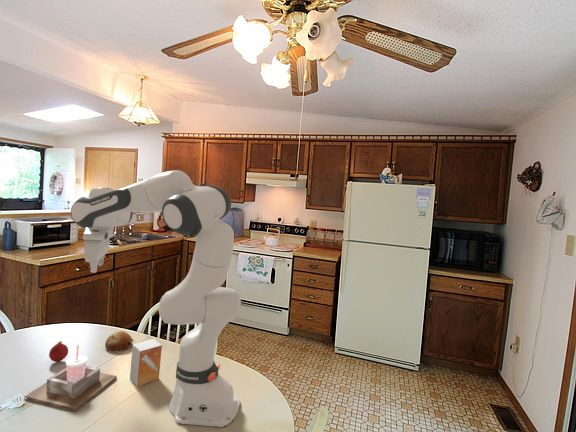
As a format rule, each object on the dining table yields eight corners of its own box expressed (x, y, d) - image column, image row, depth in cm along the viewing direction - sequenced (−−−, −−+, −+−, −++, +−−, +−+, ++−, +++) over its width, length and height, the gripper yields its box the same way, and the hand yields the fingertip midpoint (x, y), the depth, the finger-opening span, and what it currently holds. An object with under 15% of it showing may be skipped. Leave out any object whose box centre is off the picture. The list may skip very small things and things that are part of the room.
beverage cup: (77, 392, 104) (80, 351, 103) (59, 390, 104) (61, 348, 103) (90, 381, 110) (92, 342, 109) (73, 379, 110) (75, 339, 109)
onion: (57, 367, 117) (58, 346, 117) (44, 364, 118) (45, 343, 118) (71, 360, 123) (72, 339, 123) (58, 356, 124) (59, 336, 124)
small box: (136, 387, 111) (139, 351, 110) (129, 379, 115) (132, 344, 114) (159, 379, 117) (162, 344, 116) (151, 371, 121) (154, 338, 120)
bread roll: (119, 347, 143) (113, 330, 142) (139, 341, 141) (133, 324, 141) (104, 358, 133) (97, 340, 133) (125, 352, 131) (118, 333, 131)
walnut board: (116, 378, 115) (117, 365, 114) (75, 411, 97) (76, 395, 97) (72, 369, 118) (73, 355, 117) (24, 399, 100) (25, 383, 99)
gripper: (96, 227, 126) (94, 261, 127) (81, 235, 107) (78, 276, 108) (114, 228, 128) (112, 262, 129) (103, 236, 109) (100, 276, 110)
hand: (97, 268), depth 118 cm, fingers open, 8 cm apart
